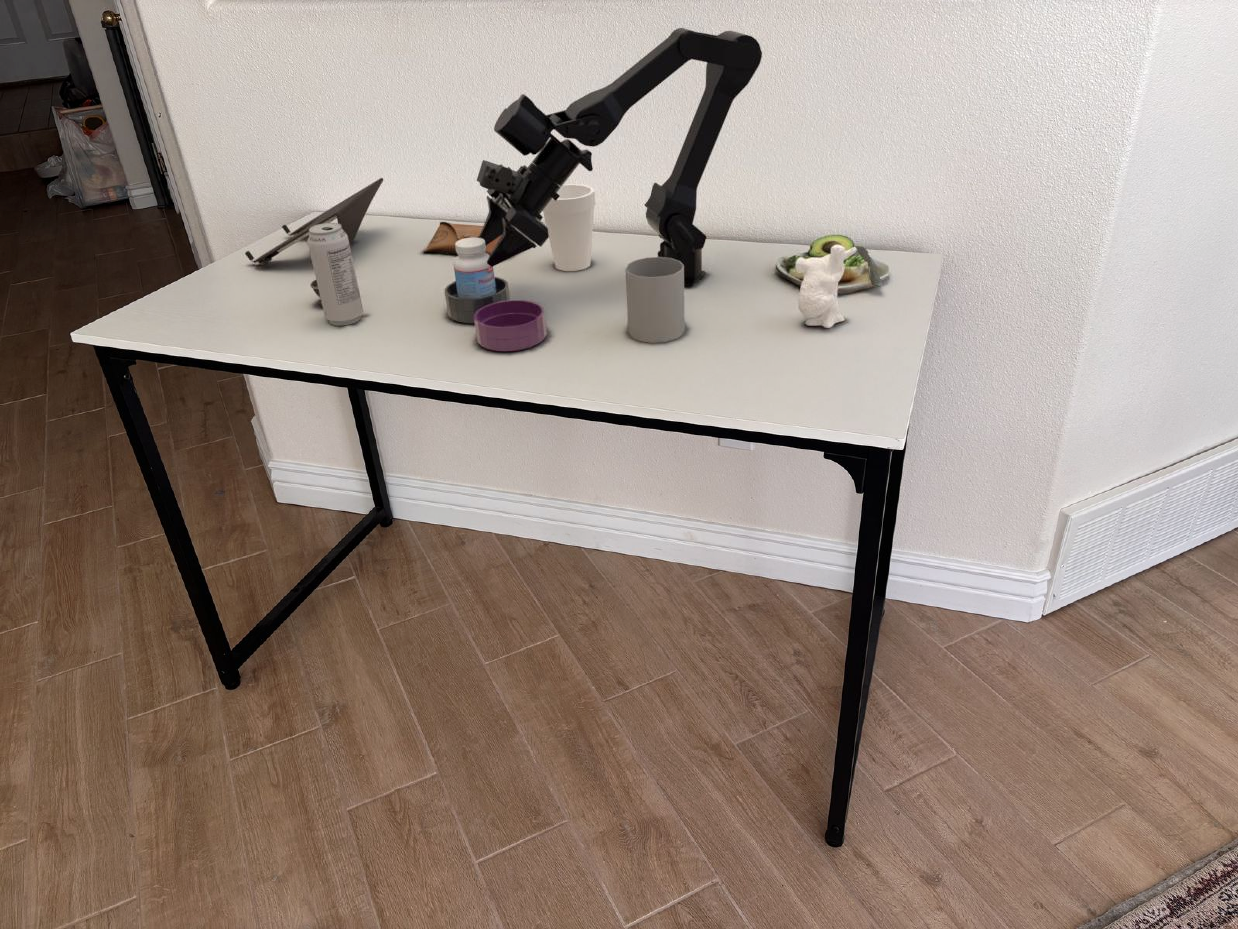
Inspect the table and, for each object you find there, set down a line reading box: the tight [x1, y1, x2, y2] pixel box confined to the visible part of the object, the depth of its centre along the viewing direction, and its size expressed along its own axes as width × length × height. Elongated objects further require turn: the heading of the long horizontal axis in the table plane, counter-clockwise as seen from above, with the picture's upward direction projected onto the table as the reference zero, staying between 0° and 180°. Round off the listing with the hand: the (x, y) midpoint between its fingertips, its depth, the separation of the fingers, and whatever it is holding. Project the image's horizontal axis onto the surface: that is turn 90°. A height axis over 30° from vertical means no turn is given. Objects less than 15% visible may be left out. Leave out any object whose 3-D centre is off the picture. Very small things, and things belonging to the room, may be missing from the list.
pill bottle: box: [453, 238, 496, 299], centre depth 145 cm, size 6×6×11 cm
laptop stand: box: [244, 177, 384, 267], centre depth 177 cm, size 23×23×9 cm
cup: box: [624, 256, 686, 344], centre depth 136 cm, size 8×8×10 cm
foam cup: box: [542, 183, 596, 272], centre depth 161 cm, size 10×9×13 cm
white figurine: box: [795, 245, 857, 329], centre depth 135 cm, size 8×7×12 cm
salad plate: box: [775, 234, 891, 295], centre depth 152 cm, size 19×18×5 cm
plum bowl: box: [474, 299, 548, 352], centre depth 138 cm, size 10×10×4 cm
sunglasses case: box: [422, 221, 501, 256], centre depth 174 cm, size 18×7×7 cm
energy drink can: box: [307, 222, 364, 326], centre depth 145 cm, size 6×6×15 cm
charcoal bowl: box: [444, 276, 511, 324], centre depth 147 cm, size 10×10×4 cm
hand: (483, 255), depth 144 cm, fingers open, 9 cm apart
